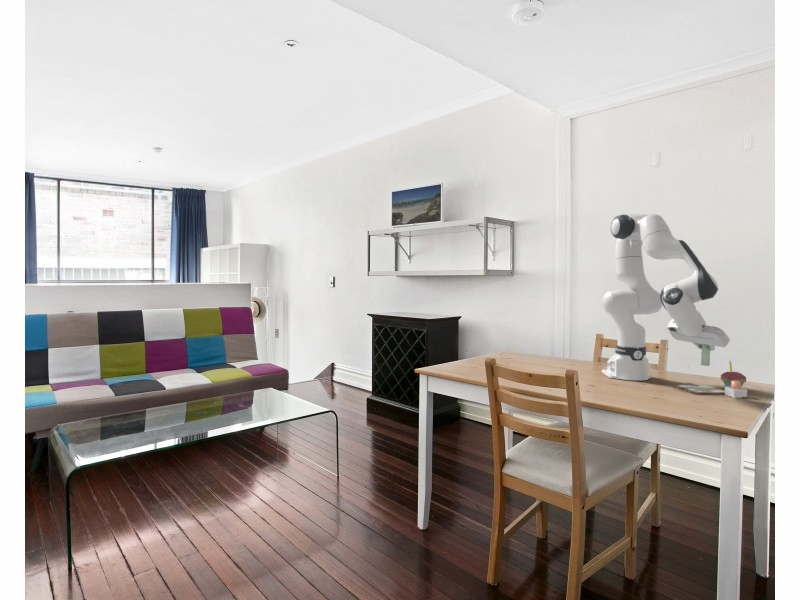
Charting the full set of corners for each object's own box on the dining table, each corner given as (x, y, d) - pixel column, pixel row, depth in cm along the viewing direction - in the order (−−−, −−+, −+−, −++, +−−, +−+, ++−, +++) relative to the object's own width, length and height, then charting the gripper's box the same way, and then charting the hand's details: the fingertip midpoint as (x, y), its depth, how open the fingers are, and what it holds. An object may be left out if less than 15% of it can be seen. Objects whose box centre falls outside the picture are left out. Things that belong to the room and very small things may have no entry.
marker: (698, 364, 188) (700, 333, 187) (706, 364, 188) (707, 333, 187) (703, 365, 185) (705, 334, 184) (711, 365, 185) (713, 334, 184)
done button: (729, 391, 185) (729, 380, 184) (736, 391, 185) (737, 380, 185) (734, 393, 182) (735, 382, 181) (742, 393, 182) (742, 382, 182)
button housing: (724, 394, 186) (724, 386, 186) (737, 394, 186) (737, 386, 186) (733, 397, 181) (734, 389, 181) (747, 397, 181) (747, 389, 181)
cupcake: (735, 392, 189) (736, 361, 188) (714, 387, 197) (715, 358, 196) (751, 390, 192) (752, 360, 191) (730, 386, 200) (731, 357, 199)
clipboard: (671, 385, 201) (671, 382, 201) (704, 385, 201) (705, 382, 201) (695, 394, 186) (695, 391, 186) (731, 394, 186) (731, 391, 186)
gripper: (723, 321, 173) (739, 346, 177) (670, 315, 191) (686, 338, 196) (715, 334, 171) (731, 359, 176) (662, 327, 190) (678, 350, 195)
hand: (706, 348), depth 186 cm, fingers closed on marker, 3 cm apart
